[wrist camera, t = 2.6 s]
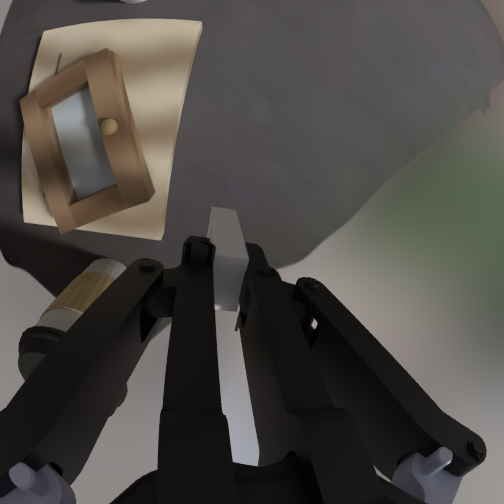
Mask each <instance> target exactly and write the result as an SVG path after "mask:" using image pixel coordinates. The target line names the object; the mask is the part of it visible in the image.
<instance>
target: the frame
mask: <svg viewBox="0 0 504 504" xmlns="http://www.w3.org/2000/svg"><path fill="white" fill-rule="evenodd" d="M20 105H21V110H22V116H23V121H24V125H25V130H26V134H27V138H28V142H29V146H30V150H31V153H32V157H33V160H34V164H35V167H36V170H37V173H38V177H39V180H40V183H41V185H42V188H43V191H44V194H45V197H46V199H47V202H48V205H49V207H50V210H51V212H52V215H53V217H54V220H55V222H56V224H57V227H58V229H59V231H60V233H61V234H64V233H66V232H68V231H71V230H73V229H76V228H78V227H81V226H83V225H86V224H88V223H91V222H93V221H96V220H98V219H101V218H104V217H106V216H109V215H112V214H114V213H117V212H120V211H123V210H126V209H128V208H131V207H134V206H137V205H140V204H143V203H146V202H149V200H150V199H151V198H152V196H153V195H154V194H155V189H154V186H153V183H152V180H151V177H150V173H149V170H148V167H147V164H146V161H145V157H144V154H143V151H142V148H141V144H140V141H139V137H138V134H137V130H136V127H135V123H134V119H133V116H132V112H131V108H130V104H129V100H128V96H127V92H126V88H125V84H124V80H123V75H122V71H121V66H120V62H119V57H118V55H117V54H116V53H114V52H113V51H111V50H109V49H108V48H105V49H103V50H101V51H99V52H97V53H95V54H93V55H91V56H89V57H87V58H85V59H83V60H81V61H79V62H77V63H76V64H74V65H72V66H70V67H69V68H67V69H65V70H64V71H62V72H60V73H59V74H57V75H55V76H54V77H52V78H51V79H49V80H48V81H46V82H45V83H43V84H42V85H40V86H39V87H37V88H36V89H34V90H33V91H32V92H30V93H29V94H28V95H26V96H25V97H24V98H22V99H21V100H20Z"/></svg>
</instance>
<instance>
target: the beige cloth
mask: <svg viewBox="0 0 504 504" xmlns="http://www.w3.org/2000/svg"><path fill="white" fill-rule="evenodd" d="M201 32H202V22H200V21H189V20H175V19H124V20H110V21H100V22H91V23H84V24H78V25H72V26H66V27H61V28H56V29H52V30H48V31H44V33H43V36H42V39H41V42H40V46H39V49H38V53H37V56H36V60H35V64H34V68H33V73H32V77H31V82H30V87H29V93H30V92H32V91H33V90H34V89H36V88H37V87H39V86H40V85H42V84H43V83H45V82H46V81H48V80H49V79H51V78H52V77H54V76H55V75H57V74H59V73H60V72H62V71H64V70H65V69H67V68H69V67H70V66H72V65H74V64H76V63H77V62H79V61H81V60H83V59H85V58H87V57H89V56H91V55H93V54H95V53H97V52H99V51H101V50H103V49H105V48H108V49H109V50H111V51H113V52H114V53H116V54H117V55H118V57H119V62H120V66H121V71H122V75H123V80H124V84H125V88H126V92H127V96H128V100H129V104H130V108H131V112H132V116H133V119H134V123H135V127H136V130H137V134H138V137H139V141H140V144H141V148H142V151H143V154H144V157H145V161H146V164H147V167H148V170H149V173H150V177H151V180H152V183H153V186H154V189H155V194H154V195H153V196H152V198H151V199H150V200H149V202H146V203H143V204H140V205H137V206H134V207H131V208H128V209H126V210H123V211H120V212H117V213H114V214H112V215H109V216H106V217H104V218H101V219H98V220H96V221H93V222H91V223H88V224H86V225H83V226H81V227H78V228H76V229H79V230H87V231H94V232H102V233H109V234H117V235H124V236H132V237H139V238H147V239H154V240H161V239H162V236H163V233H164V227H165V217H166V208H167V199H168V191H169V183H170V176H171V169H172V162H173V156H174V150H175V144H176V138H177V132H178V127H179V122H180V117H181V112H182V107H183V102H184V98H185V93H186V89H187V84H188V80H189V76H190V72H191V68H192V64H193V60H194V56H195V53H196V49H197V45H198V42H199V38H200V35H201ZM29 93H28V94H29ZM22 201H23V214H24V222H27V223H35V224H42V225H50V226H57V224H56V222H55V220H54V217H53V215H52V212H51V210H50V207H49V205H48V202H47V199H46V197H45V194H44V191H43V188H42V185H41V183H40V180H39V177H38V173H37V170H36V167H35V164H34V160H33V157H32V153H31V150H30V146H29V142H28V138H27V134H26V130H25V125H24V131H23V144H22Z"/></svg>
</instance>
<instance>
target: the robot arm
mask: <svg viewBox="0 0 504 504" xmlns="http://www.w3.org/2000/svg"><path fill="white" fill-rule="evenodd" d="M238 304H239V305H240V311H239V315H238V319H237V323H236V327H235V331H237V330H238V328H239V329H240V335H241V343H242V349H243V356H244V362H245V368H246V374H247V381H248V387H249V393H250V399H251V405H252V410H253V416H254V422H255V427H256V433H257V439H258V444H259V451H260V452H259V461H258V466H251V465H245V464H240V463H235V462H233V460H232V453H231V445H230V436H229V428H228V421H227V418H226V416H225V415H224V414H223V413H222V407H221V395H220V383H219V370H218V356H217V340H216V323H215V310H226V311H237V308H238ZM164 317H172V324H171V331H170V339H169V348H168V356H167V364H166V374H165V384H164V396H163V407H162V410H161V414H160V424H159V441H158V469H157V470H155V471H152V472H150V473H148V474H146V475H144V476H142V477H141V478H139V479H137V480H136V481H135V482H134V483H133V484H131V485H130V486H129V487H128V488H127V489H126V490H125V491H123V492H122V493H121V494H120V495H119V496H118V497H117V498H115V499H114V500H113V501H112V502H111V503H110V504H452V502H453V500H454V498H455V495H456V493H457V490H458V488H459V485H460V482H461V480H462V477H463V476H464V475H465V474H467V473H468V472H470V471H471V470H473V469H474V468H475V467H477V466H478V465H480V464H481V463H482V462H483V461H484V460H485V457H486V446H485V443H484V441H483V439H482V438H481V437H480V436H479V435H477V434H476V433H474V432H473V431H471V430H470V429H468V428H467V427H465V426H464V425H462V424H460V423H459V422H457V421H456V420H455V419H453V418H452V417H450V416H449V415H447V414H446V413H444V412H443V411H442V410H441V409H440V408H439V407H438V406H437V404H436V403H435V402H434V401H433V400H432V399H431V398H430V397H429V396H428V394H427V393H426V392H425V391H424V390H423V389H422V388H421V387H420V386H419V384H418V383H417V382H416V381H415V380H414V379H413V378H412V377H411V376H410V375H409V374H408V372H407V371H406V370H405V369H404V368H403V367H402V366H401V365H400V364H399V363H398V362H397V361H396V360H395V358H394V357H393V356H392V355H391V354H390V353H389V352H388V351H387V350H386V349H385V348H384V347H383V346H382V345H381V344H380V342H379V341H378V340H377V339H376V338H375V337H374V336H373V335H372V334H371V333H370V332H369V331H368V330H367V329H366V328H365V327H364V326H363V325H362V324H361V323H360V322H359V320H358V319H357V318H356V317H355V316H354V315H353V314H352V313H351V312H350V311H349V310H348V309H347V308H346V307H345V306H344V305H343V304H342V303H341V302H340V301H339V300H338V299H337V298H336V297H335V296H334V295H333V294H332V293H331V292H330V291H329V290H328V289H327V288H326V287H325V286H324V285H323V284H322V283H321V282H319V281H317V280H316V279H313V278H310V277H308V278H307V277H302V278H299V279H298V280H297V282H296V285H294V284H291V283H287V282H284V281H282V280H281V277H280V275H279V273H278V272H277V271H276V270H275V269H273V268H271V267H269V265H268V262H267V260H266V258H265V255H264V252H263V250H262V248H261V247H260V246H258V245H257V244H253V243H246V242H244V239H243V235H242V231H241V228H240V224H239V220H238V217H237V213H236V210H232V209H225V208H219V207H212V209H211V215H210V221H209V227H208V233H207V238H205V237H197V236H190V237H189V238H188V239H187V240H186V241H185V242H184V244H183V252H182V261H181V265H180V266H178V267H176V268H172V269H164V267H163V265H162V264H161V263H160V262H159V261H156V260H154V259H149V258H146V259H145V258H143V259H139V260H136V261H134V262H133V263H132V264H131V265H130V266H128V267H127V268H126V269H125V270H124V271H123V272H122V273H121V274H120V275H119V276H118V277H117V278H116V279H115V280H114V281H113V282H112V283H111V284H110V285H109V286H108V287H107V288H106V289H105V290H104V291H103V292H102V294H101V295H100V296H99V297H98V298H97V299H96V300H95V301H94V302H93V303H92V304H91V305H90V306H89V307H88V308H87V309H86V310H85V311H84V312H83V314H82V315H81V316H80V317H79V318H78V319H77V320H76V321H75V322H74V323H73V325H72V326H71V327H70V328H69V329H68V330H67V331H66V332H65V334H64V335H63V336H62V337H61V338H60V339H59V340H58V342H57V343H56V344H55V345H54V346H53V347H52V349H51V350H50V351H49V352H48V353H47V355H46V356H45V357H44V358H43V359H42V361H41V362H40V363H39V364H38V366H37V367H36V368H35V369H34V371H33V372H32V373H31V374H30V376H29V377H28V378H27V380H26V381H25V382H24V383H23V385H22V386H21V388H20V389H19V390H18V391H17V393H16V394H15V396H14V397H13V398H12V400H11V401H10V403H9V404H8V405H7V407H6V408H4V409H3V410H2V411H0V504H76V498H75V494H74V492H73V490H72V488H71V487H70V485H71V484H72V483H73V482H74V480H75V479H76V477H77V476H78V475H79V474H80V472H81V471H82V469H83V467H84V465H85V463H86V462H87V460H88V458H89V456H90V454H91V452H92V449H93V447H94V445H95V443H96V441H97V439H98V437H99V435H100V433H101V431H102V429H103V427H104V425H105V423H106V421H107V419H108V417H109V415H110V413H111V411H112V410H113V408H114V406H115V404H116V402H117V400H118V398H119V396H120V394H121V392H122V391H123V389H124V387H125V385H126V383H127V381H128V379H129V378H130V376H131V374H132V372H133V370H134V368H135V366H136V365H137V363H138V361H139V359H140V358H141V356H142V354H143V352H144V350H145V349H146V347H147V345H148V344H149V342H150V340H151V338H152V337H153V335H154V333H155V331H156V330H157V328H158V326H159V324H160V323H161V318H164ZM314 319H315V320H316V321H317V323H318V324H317V327H316V329H314V328H313V327H312V326H311V325H312V322H313V320H314ZM373 465H374V466H375V467H376V468H377V469H378V470H379V471H380V472H381V473H382V474H383V475H384V476H386V477H387V478H388V479H390V480H391V482H388V481H386V480H384V479H383V478H381V477H380V476H378V475H377V473H376V471H375V468H374V466H373Z"/></svg>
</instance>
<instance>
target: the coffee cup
mask: <svg viewBox="0 0 504 504" xmlns="http://www.w3.org/2000/svg"><path fill="white" fill-rule="evenodd" d="M125 269H126V267H125V266H124V265H123V264H121V263H120V262H118V261H115V260H113V259H108V258H102V259H98V260H95V261H94V262H92V263H91V264H90V265H89V266H88V267H87V268H86V269H85V270H84V271H83V272H82V273H81V274H80V275H78V276H77V277H76V278H75V279H74V280H73V281H72V282H71V283H70V284H69V285H68V286H67V287H66V288H65V289H64V290H63V292H62V293H61V294H60V295H59V296H58V297H57V298H56V299H55V300H54V301H53V303H52V304H51V305H50V306H49V307H48V308H47V309H46V311H45V312H44V313H43V314H42V316H41V317H40V320H39V322H38V323H37V324H36V325H35V326H33V327H31V328H28V329H27V330H25V331H24V332H23V334H22V336H21V338H20V342H19V359H18V367H19V370H20V373H21V375H22V376H23V378H24V380H25V381H26V380H27V378H28V377H29V376H30V374H31V373H32V372H33V371H34V369H35V368H36V367H37V366H38V364H39V363H40V362H41V361H42V359H43V358H44V357H45V356H46V355H47V353H48V352H49V351H50V350H51V349H52V347H53V346H54V345H55V344H56V343H57V342H58V340H59V339H60V338H61V337H62V336H63V335H64V334H65V332H66V331H67V330H68V329H69V328H70V327H71V326H72V325H73V323H74V322H75V321H76V320H77V319H78V318H79V317H80V316H81V315H82V314H83V312H84V311H85V310H86V309H87V308H88V307H89V306H90V305H91V304H92V303H93V302H94V301H95V300H96V299H97V298H98V297H99V296H100V295H101V294H102V292H103V291H104V290H105V289H106V288H107V287H108V286H109V285H110V284H111V283H112V282H113V281H114V280H115V279H116V278H117V277H118V276H119V275H120V274H121V273H122V272H123V271H124V270H125ZM127 390H128V389H127V383H126V385H125V387H124V389H123V391H122V392H121V394H120V396H119V398H118V400H117V402H116V404H115V406H114V408H113V410H112V411H111V413H110V415H109V417H110V416H112V415H113V413H114V412H115V410H116V408H117V407H119V406H120V405H121V404H122V403H123V402H124V399H125V397H126V395H127Z"/></svg>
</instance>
